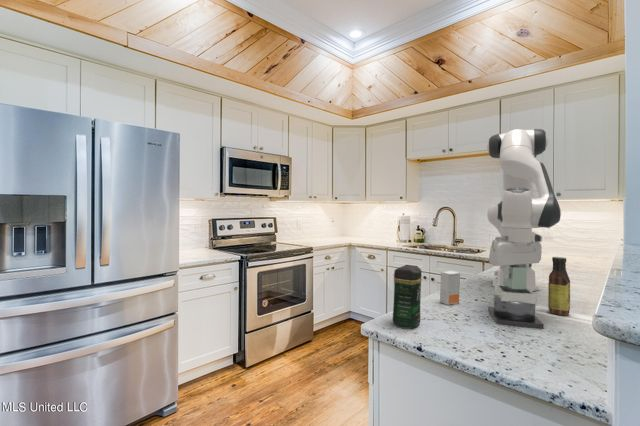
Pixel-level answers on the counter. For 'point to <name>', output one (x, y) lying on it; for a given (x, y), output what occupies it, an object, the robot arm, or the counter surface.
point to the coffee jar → (407, 296)
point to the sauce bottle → (559, 288)
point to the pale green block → (516, 277)
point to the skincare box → (449, 287)
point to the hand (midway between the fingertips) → (514, 277)
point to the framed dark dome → (515, 307)
